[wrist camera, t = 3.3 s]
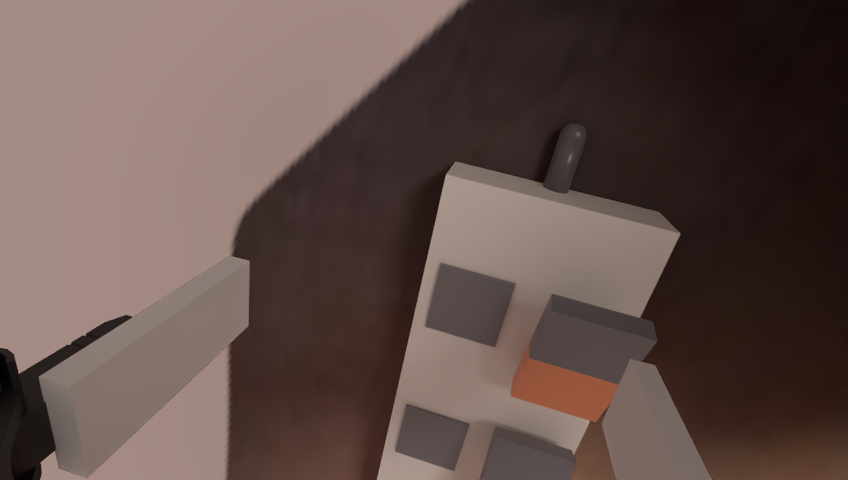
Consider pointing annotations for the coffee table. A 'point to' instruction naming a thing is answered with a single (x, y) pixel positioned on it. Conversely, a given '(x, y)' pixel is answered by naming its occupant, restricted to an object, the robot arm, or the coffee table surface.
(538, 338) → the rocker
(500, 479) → the rocker middle
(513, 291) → the power strip
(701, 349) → the coffee table surface
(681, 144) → the coffee table surface
